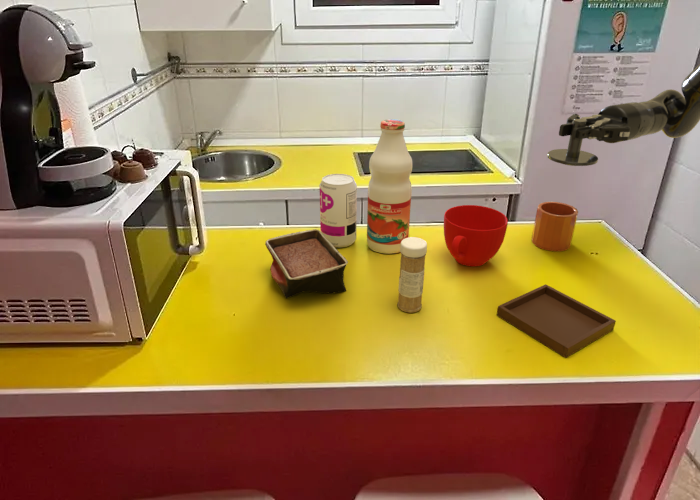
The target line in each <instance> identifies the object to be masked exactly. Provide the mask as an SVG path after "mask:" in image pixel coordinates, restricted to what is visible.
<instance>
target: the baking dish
mask: <svg viewBox="0 0 700 500" xmlns="http://www.w3.org/2000/svg"><path fill="white" fill-rule="evenodd" d="M264 245H265V247H266V249H267V251H268V253H269V254H270V255H271V258H272V261H271V264H270V274H271V278H272V279H273V281H274V282H275V283H276V285H277V286H278V287H279V289H280V290H281V291H282V294H283V296H284V297H285V299H288V298H291V297H294V296H297V295H299V294H301V293H305V292H306V293H317V294H319V293H320V294H338V293H344V292H345V293H346V292H347V288H346V285H345V281H344V278H345V275H344V274H345V270H346V267H347V265H348V264H349V261H348V260H347V258H346V257H345V256H343V254H342V253H341V252H340V251H339V250H338V248H336V247H334V246H333V245H332V244H331V242H330V241H329V240H328V239H327V238H326V237H325V236H324V234H323V233H322V232H321V230H319V229H317V228H316V229H307V230H300V231H296V232H291V233H286V234H282V235H278V236H275V237H271V238H268V239H267V240H265V244H264Z"/></svg>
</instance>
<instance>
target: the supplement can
mask: <svg viewBox="0 0 700 500" xmlns="http://www.w3.org/2000/svg"><path fill="white" fill-rule="evenodd" d="M318 186H319V222H320V224H319V225H320V231H321V232H322V233H323V234H324V236H325V237H326V238H327V239H328V240H329V241H330V242H331V244H332V245H333V246H334V247H335V248H336V249H339V248H340V249H341V248H346V247H349V246H351V245H353V244H354V243H355V242H356V240H357V223H358V221H357V217H358V215H357V214H358V212H357V211H358V210H357V209H358V208H357V207H358V185H357V182H356V180H355V178H354V176H352V175H349V174H346V173H331V174H327V175H325V176H322V178H321V181H320V183H319V185H318Z"/></svg>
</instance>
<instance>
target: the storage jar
mask: <svg viewBox="0 0 700 500" xmlns="http://www.w3.org/2000/svg"><path fill="white" fill-rule="evenodd" d="M578 215H579V211H578V209H577V208H576V207H575V206H573V205H571V204H568V203H564V202H560V201H544V202H543V201H542V202H541V203H539V204H538V205H537V207H536V213H535V219H534V223H533V228H532V235H531V243H532V244H533V245H534V246H535V247H537V248H539V249H542V250H545V251H550V252H565V251H567V250H569V249H570V248H571V245H572V243H573V237H574V234H575V233H574V232H575V230H576V229H575V228H576V224H577V221H578Z"/></svg>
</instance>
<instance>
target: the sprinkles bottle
mask: <svg viewBox="0 0 700 500" xmlns="http://www.w3.org/2000/svg"><path fill="white" fill-rule="evenodd" d="M427 251H428V242H427V241H426V240H425V239H423V238H422V237H421V238H420V237H417V236H409V237H408V238H405V239H403V240H402V241H401V246H400V252H399V253H400V265H399V266H400V267H399V275H398V296H397V297H398V299H397V308H398V309H399V310H401V311H402V312H405V313H409V314H410V313H411V314H412V313H416V312H419V311H421V309H422V307H423V305H422V300H423V293H424V282H425V281H424V280H425V270H426V269H425V264H426V255H427V253H428V252H427Z"/></svg>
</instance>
